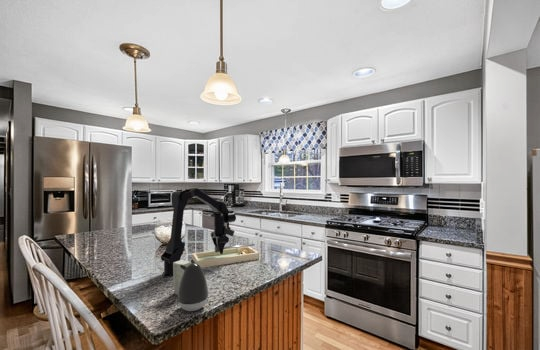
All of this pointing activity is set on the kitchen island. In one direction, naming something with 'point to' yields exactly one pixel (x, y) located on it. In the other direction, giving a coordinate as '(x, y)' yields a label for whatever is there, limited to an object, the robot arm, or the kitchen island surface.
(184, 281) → the pump dispenser
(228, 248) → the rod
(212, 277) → the kitchen island surface
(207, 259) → the tray
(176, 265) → the skincare box
